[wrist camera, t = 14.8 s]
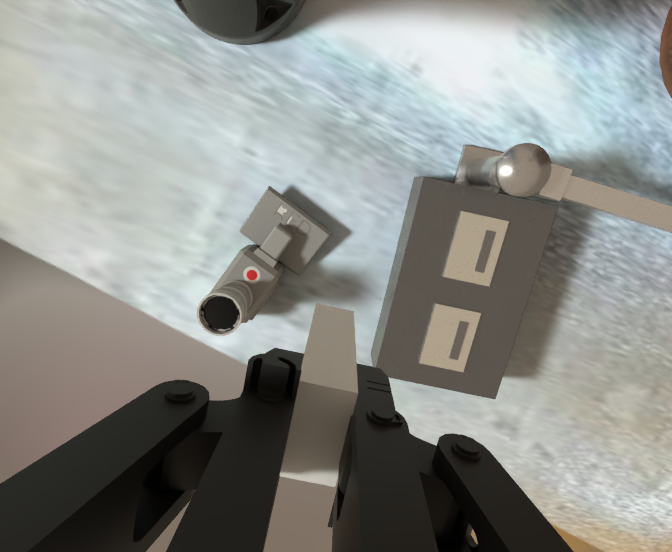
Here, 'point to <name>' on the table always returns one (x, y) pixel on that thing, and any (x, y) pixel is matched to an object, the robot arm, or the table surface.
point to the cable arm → (605, 199)
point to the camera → (261, 262)
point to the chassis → (459, 286)
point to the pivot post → (505, 169)
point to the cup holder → (667, 53)
